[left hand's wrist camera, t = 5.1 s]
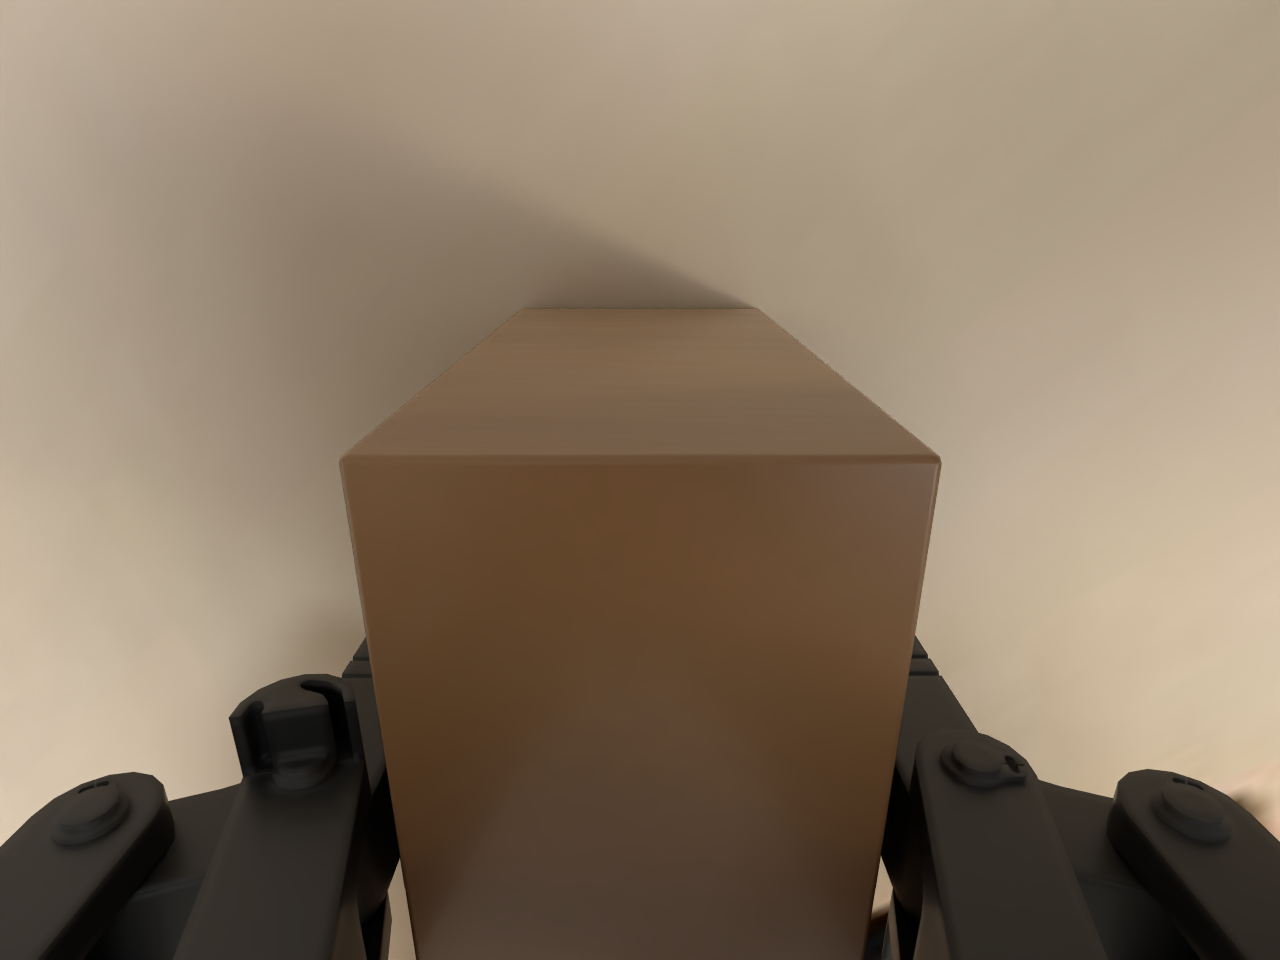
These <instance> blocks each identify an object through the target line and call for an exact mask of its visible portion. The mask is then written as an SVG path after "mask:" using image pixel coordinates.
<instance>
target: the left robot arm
mask: <svg viewBox="0 0 1280 960" xmlns="http://www.w3.org/2000/svg"><path fill="white" fill-rule="evenodd" d="M229 720H230V725H231V729H232V733H233V737H234V741H235V745H236V749H237V753H238V757H239V761H240V766H241V770H242V774H243V779H242V781H241V783H240V784H236V785H233V786H230V787H226V788H223V789H219V790H215V791H211V792H206V793H202V794H198V795H193V796H189V797H184V798H180V799H176V800H171V801H168V799H167V796H166V792H165V789H164V786H163V784H162V783H161V782H160V781H158V780H157V779H156V778H155V777H154V776H153V775H148V774H142V773H137V772H130V773H122V774H113V775H108V776H105V777H102V778H99V779H96V780H92V781H90V782H86V783H83V784H81V785H79V786H77V787H75V788H73V789H71V790H69V791H68V792H66V793H64V794H62V795H60V796H58V797H56V798H54V799H53V800H52V801H51V802H49V803H48V804H47V805H45V806H44V807H43V808H42V809H40V810H39V811H38V812H37V813H35V814H34V815H33V816H31V817H30V818H29V819H28V820H27V821H26V822H25V823H24V824H23V825H22V826H21V827H20V828H19V829H18V830H17V831H16V832H15V833H14V834H13V835H12V836H11V837H10V838H9V839H8V840H7V841H6V842H5V843H4V844H3V845H2V846H1V847H0V960H388V953H389V943H390V933H391V923H392V917H391V909H390V902H389V896H388V888H389V886H390V883H391V880H392V878H393V875H394V872H395V870H396V867H397V864H398V861H399V859H400V861H401V857H400V851H399V845H398V838H397V832H396V825H395V819H394V812H393V806H392V799H391V793H390V787H389V780H388V774H387V767H386V761H385V754H384V748H383V741H382V735H381V729H380V722H379V716H378V709H377V703H376V696H375V690H374V683H373V677H372V671H371V664H370V658H369V651H368V645H367V638H365V639H364V641H363V642H362V644H361V646H360V647H359V649H358V650H357V652H356V653H355V655H354V656H353V661H350V663H349V664H348V666H347V667H346V669H345V670H344V672H343V673H342V678H340V677H336V676H332V675H328V674H304V675H300V676H296V677H291V678H287V679H282V680H280V681H277V682H275V683H273V684H270V685H268V686H266V687H263V688H261V689H259V690H257V691H256V692H255V693H253V694H252V695H250V696H249V697H248V698H246V699H245V700H243V701H242V702H241V703H240V704H239V705H238V706H237V708H236V709H235V710H234V712H233V713H232V714H231V715H230V717H229ZM880 857H882V859H883V862H884V865H885V867H886V870H887V873H888V875H889V878H890V881H891V883H892V886H893V890H892V896H891V902H890V908H889V914H888V920H887V926H886V932H885V938H884V944H883V951H882V958H881V960H891V958H892V960H1280V842H1279V841H1278V840H1277V839H1276V838H1275V837H1274V836H1273V835H1272V834H1271V833H1270V832H1269V831H1268V830H1267V829H1266V828H1265V827H1264V826H1263V825H1262V824H1261V823H1260V822H1259V821H1258V820H1257V819H1256V818H1255V817H1254V816H1253V815H1252V814H1250V813H1249V812H1248V811H1247V810H1245V809H1244V808H1243V807H1242V806H1240V805H1239V804H1238V803H1236V802H1235V801H1234V800H1233V799H1231V798H1230V797H1229V796H1227V795H1226V794H1224V793H1222V792H1220V791H1218V790H1216V789H1214V788H1212V787H1210V786H1208V785H1206V784H1205V783H1203V782H1201V781H1198V780H1195V779H1192V778H1190V777H1186V776H1183V775H1180V774H1177V773H1174V772H1168V771H1160V770H1151V769H1145V770H1139V771H1134V772H1129V773H1128V774H1126V775H1125V776H1124V777H1123V778H1122V779H1121V780H1120V781H1119V782H1118V784H1117V787H1116V791H1115V794H1114V798H1109V797H1105V796H1100V795H1096V794H1092V793H1087V792H1083V791H1078V790H1074V789H1070V788H1065V787H1061V786H1057V785H1054V784H1051V783H1047V782H1044V781H1041V780H1039V779H1038V778H1037V775H1036V774H1035V772H1034V771H1033V769H1032V768H1031V766H1030V765H1029V763H1028V762H1027V760H1026V759H1024V758H1023V757H1022V756H1021V755H1020V754H1018V753H1017V752H1016V751H1015V750H1013V749H1012V748H1011V747H1010V746H1008V745H1006V744H1004V743H1002V742H1000V741H998V740H996V739H994V738H992V737H990V736H988V735H985V734H981V733H978V731H977V730H976V728H975V727H974V725H973V724H972V722H971V720H970V719H969V717H968V716H967V714H966V713H965V711H964V710H963V708H962V707H961V705H960V704H959V702H958V700H957V699H956V697H955V696H954V694H953V693H952V691H951V690H950V688H949V687H948V685H947V684H946V682H945V680H944V679H943V677H942V676H939V671H938V670H937V668H936V667H935V665H934V664H933V662H932V660H931V659H928V654H927V653H926V651H925V650H924V648H923V647H922V645H921V644H920V642H919V640H918V639H917V637H916V636H915V637H914V643H913V650H912V656H911V663H910V669H909V675H908V682H907V688H906V695H905V701H904V708H903V714H902V720H901V727H900V733H899V740H898V746H897V753H896V759H895V765H894V772H893V778H892V785H891V791H890V798H889V804H888V810H887V817H886V823H885V830H884V836H883V843H882V849H881V855H880ZM879 864H880V862H879ZM401 867H402V864H401ZM878 870H879V868H878ZM402 874H403V870H402ZM877 876H878V875H877ZM403 880H404V877H403ZM876 883H877V881H876ZM404 886H405V883H404Z"/></svg>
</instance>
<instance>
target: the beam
mask: <svg viewBox="0 0 1280 960" xmlns="http://www.w3.org/2000/svg"><path fill="white" fill-rule="evenodd" d="M339 464H340V471H341V477H342V484H343V490H344V497H345V503H346V509H347V516H348V522H349V529H350V535H351V542H352V548H353V555H354V561H355V567H356V574H357V580H358V587H359V593H360V600H361V606H362V613H363V619H364V625H365V632H366V638H367V645H368V651H369V658H370V664H371V671H372V677H373V683H374V690H375V696H376V703H377V709H378V716H379V722H380V729H381V735H382V741H383V748H384V754H385V761H386V767H387V774H388V780H389V787H390V793H391V799H392V806H393V812H394V819H395V825H396V832H397V838H398V845H399V851H400V857H401V864H402V870H403V877H404V883H405V890H406V896H407V903H408V909H409V915H410V922H411V928H412V935H413V941H414V948H415V954H416V960H864V958H865V952H866V945H867V939H868V933H869V926H870V920H871V913H872V907H873V900H874V894H875V888H876V881H877V875H878V868H879V862H880V855H881V849H882V843H883V836H884V830H885V823H886V817H887V810H888V804H889V798H890V791H891V785H892V778H893V772H894V765H895V759H896V753H897V746H898V740H899V733H900V727H901V720H902V714H903V708H904V701H905V695H906V688H907V682H908V675H909V669H910V663H911V656H912V650H913V643H914V637H915V630H916V624H917V618H918V611H919V605H920V598H921V592H922V585H923V579H924V573H925V566H926V560H927V553H928V547H929V540H930V534H931V528H932V521H933V515H934V508H935V502H936V495H937V489H938V483H939V476H940V470H941V460H940V456H938V455H937V454H936V453H935V452H933V451H932V450H931V449H930V448H929V447H927V446H926V445H925V444H924V443H922V442H921V441H920V440H919V439H917V438H916V437H915V436H914V435H913V434H911V433H910V432H909V431H908V430H906V429H905V428H904V427H903V426H902V425H900V424H899V423H898V422H897V421H895V420H894V419H893V418H892V417H890V416H889V415H888V414H887V413H886V412H884V411H883V410H882V409H881V408H879V407H878V406H877V405H876V404H875V403H873V402H872V401H871V400H870V399H868V398H867V397H866V396H865V395H863V394H862V393H861V392H860V391H859V390H857V389H856V388H855V387H854V386H852V385H851V384H850V383H849V382H847V381H846V380H845V379H844V378H843V377H841V376H840V375H839V374H838V373H836V372H835V371H834V370H833V369H832V368H830V367H829V366H828V365H827V364H825V363H824V362H823V361H822V360H820V359H819V358H818V357H817V356H816V355H814V354H813V353H812V352H811V351H809V350H808V349H807V348H806V347H804V346H803V345H802V344H801V343H800V342H798V341H797V340H796V339H795V338H793V337H792V336H791V335H790V334H789V333H787V332H786V331H785V330H784V329H782V328H781V327H780V326H779V325H777V324H776V323H775V322H774V321H773V320H771V319H770V318H769V317H768V316H766V315H765V314H764V313H763V312H761V311H760V310H759V309H757V308H524V309H521V310H520V311H519V312H518V313H516V314H515V315H514V316H513V317H512V318H510V319H509V320H508V321H507V322H505V323H504V324H503V325H502V326H501V327H499V328H498V329H497V330H496V331H494V332H493V333H492V334H491V335H489V336H488V337H487V338H486V339H485V340H483V341H482V342H481V343H480V344H478V345H477V346H476V347H475V348H474V349H472V350H471V351H470V352H469V353H467V354H466V355H465V356H464V357H463V358H461V359H460V360H459V361H458V362H456V363H455V364H454V365H453V366H451V367H450V368H449V369H448V370H447V371H445V372H444V373H443V374H442V375H440V376H439V377H438V378H437V379H436V380H434V381H433V382H432V383H431V384H429V385H428V386H427V387H426V388H425V389H423V390H422V391H421V392H420V393H418V394H417V395H416V396H415V397H414V398H412V399H411V400H410V401H409V402H407V403H406V404H405V405H404V406H402V407H401V408H400V409H399V410H398V411H396V412H395V413H394V414H393V415H391V416H390V417H389V418H388V419H387V420H385V421H384V422H383V423H382V424H380V425H379V426H378V427H377V428H376V429H374V430H373V431H372V432H371V433H369V434H368V435H367V436H366V437H365V438H363V439H362V440H361V441H360V442H358V443H357V444H356V445H355V446H353V447H352V448H351V449H350V450H349V451H347V452H346V453H345V454H344V455H342V456H341V459H340V463H339Z"/></svg>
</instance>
